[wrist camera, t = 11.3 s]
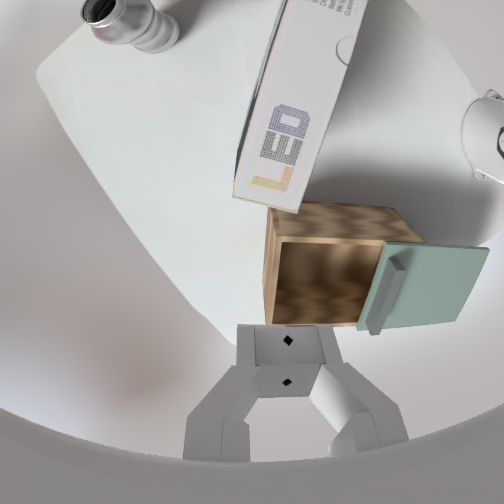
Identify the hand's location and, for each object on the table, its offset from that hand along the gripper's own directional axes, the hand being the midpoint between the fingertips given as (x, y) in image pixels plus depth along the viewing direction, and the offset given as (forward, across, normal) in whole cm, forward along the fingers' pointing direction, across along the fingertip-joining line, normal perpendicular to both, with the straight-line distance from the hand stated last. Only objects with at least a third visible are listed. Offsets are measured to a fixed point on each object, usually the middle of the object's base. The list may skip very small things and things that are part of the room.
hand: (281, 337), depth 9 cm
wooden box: (+37, -14, +18) cm, 44 cm away
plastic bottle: (+37, +14, -16) cm, 43 cm away
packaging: (+37, -4, -12) cm, 40 cm away
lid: (+25, -29, +18) cm, 42 cm away
